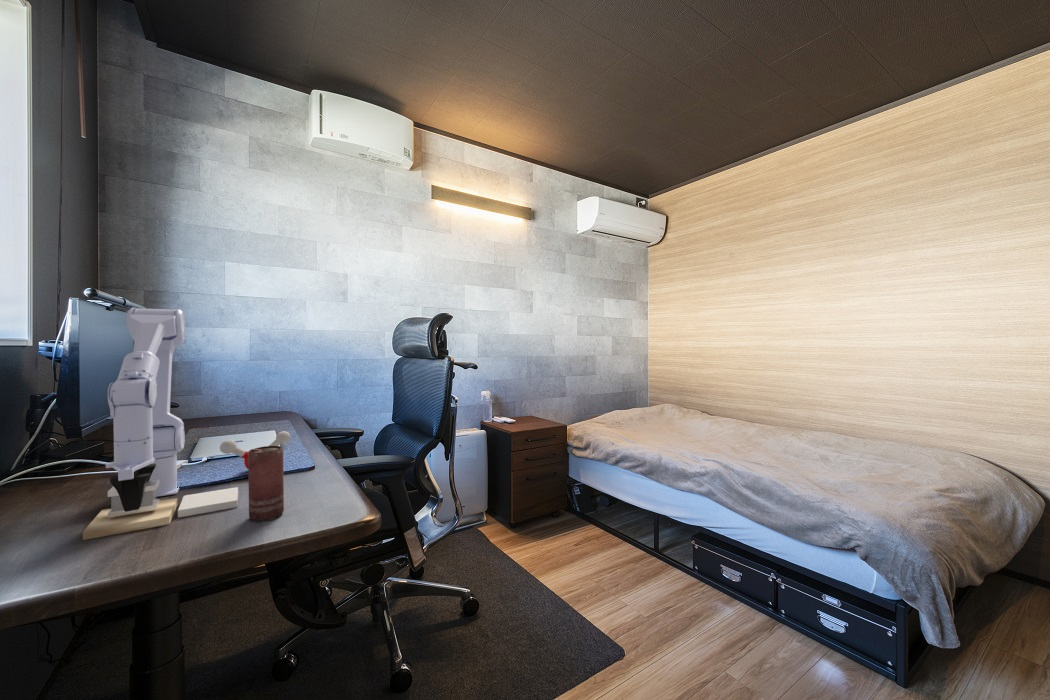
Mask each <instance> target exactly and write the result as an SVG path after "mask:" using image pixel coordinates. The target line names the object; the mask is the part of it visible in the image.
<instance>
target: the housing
mask: <svg viewBox="0 0 1050 700" xmlns="http://www.w3.org/2000/svg"><path fill="white" fill-rule="evenodd" d="M158 486H159V480H153V481H146V483H145V486H144V490H143V495H142V501H141V505H140V508H139V509H138V510H133V511H127V512H125V511H124V509H123V506H122V503H121V500H120V497H119V494H118V492H117V490H116V489H115V488H114V486H113V485H112V487H110V489H108V491H107V498H110V497H111V498H110V501H111V502H110V505H111V506H110V507H111V508H109V509H110V511H109V512H108V518H110V517H116V516H122V515H128V514H134V513H140V512H146V511H152V510H156V509H157V507H158V505H159V501H160V498H157V497H156V489H157V487H158Z"/></svg>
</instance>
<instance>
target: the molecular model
mask: <svg viewBox="0 0 1050 700" xmlns="http://www.w3.org/2000/svg"><path fill="white" fill-rule="evenodd" d="M290 440H291V435H290V433H289V432H288V431H285V430H283V431H280V432H278V433H277V434H276V436H275V440H274V441H272V442H271V443H270V444H269V445H268V446H281V445H285V444H287V443H288V442H290ZM219 450H220V453H222V454H225V455H228V454H233V455H236V456H237V457H240V458H241V459H244V462H243V463H244V466H245V468H246V469H247V470H248V452H249V451H246V450H244V449H242V448H240V447H238V445H237V442H236V441H235V440H233V439H226V440H224V441H222V442H221V443H220V446H219Z"/></svg>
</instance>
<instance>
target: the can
mask: <svg viewBox="0 0 1050 700" xmlns="http://www.w3.org/2000/svg"><path fill="white" fill-rule="evenodd" d="M247 452H248V469H247V471H248V477H247V478H248V517H249V519H250V520H251V521H253V522H256V523H257V522H259V523H260V522H267V521H268V522H269V521H271V520H275V519H277V518H279V517H280V516H282V514H283V513H284V511H285V497H284V495H285V493H284V492H285V490H284V487H285V486H284V481H285V479H284V450H283V448H282V447H281V445H279V446H269V445H267V446H265V445H264V446H260V447H259V446H258V447H256V448H255V447H254V448H251V449H249V451H247Z"/></svg>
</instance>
